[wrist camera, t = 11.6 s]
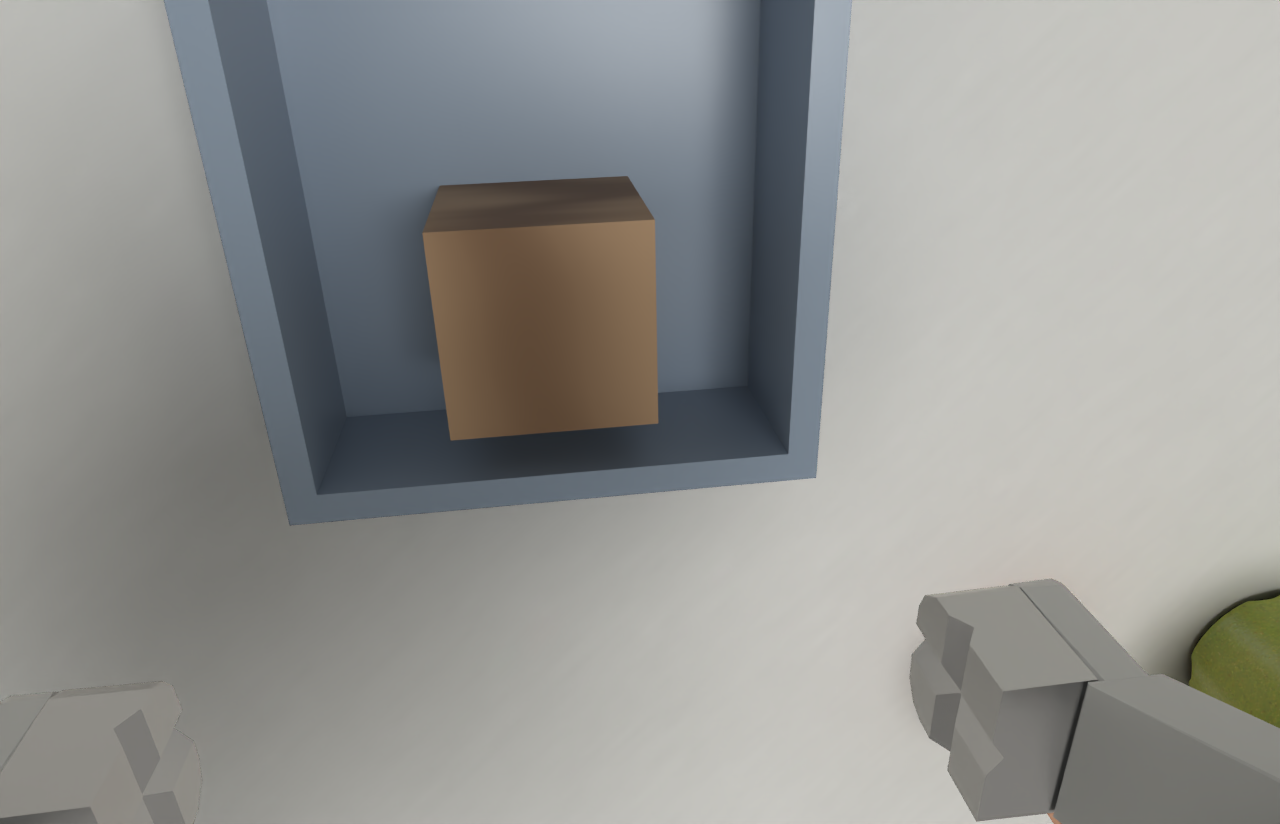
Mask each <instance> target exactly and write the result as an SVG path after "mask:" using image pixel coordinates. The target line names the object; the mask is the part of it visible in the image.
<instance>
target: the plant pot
mask: <svg viewBox="0 0 1280 824" xmlns="http://www.w3.org/2000/svg"><path fill="white" fill-rule="evenodd" d="M1191 661H1192V676H1191V679H1190V680H1189V686H1190V687H1192V688H1194V689H1196V690H1198V691H1200V692H1203V693H1205V694H1207V695H1209V696H1211V697H1213V698H1216V699H1218V700H1220V701H1222V702H1224V703H1226V704H1228V705H1231V706H1233V707H1235V708H1237V709H1239V710H1241V711H1243V712H1246V713H1248V714H1250V715H1252V716H1254V717H1256V718H1259V719H1261V720H1263V721H1265V722H1267V723H1269V724H1271V725H1274V726H1276V727H1278V728H1280V595H1279V596H1277V597H1275V598H1272V599H1267V600H1260V601H1248V602H1245V603H1243V604H1241V605H1239V606H1238V607H1236V608H1234V609H1233V610H1231V611H1230V612H1228V613H1227V614H1225V615H1224V616H1223V617H1221V618H1220V619H1219V620H1218V621H1217V622H1216V623H1215V624H1214V625H1212V626H1211V627H1210V629H1209V630H1208V631H1207V632H1206V633H1205V634H1204V635H1203V637H1202V638H1201V639H1200V641H1199V642H1198V643H1197V645H1196V647H1195V648H1194V650H1193V653H1192V655H1191Z"/></svg>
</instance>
